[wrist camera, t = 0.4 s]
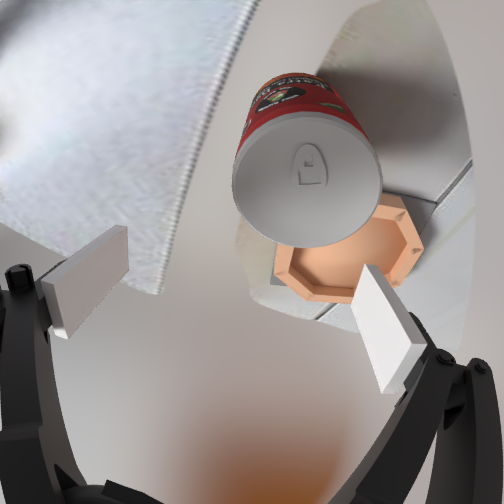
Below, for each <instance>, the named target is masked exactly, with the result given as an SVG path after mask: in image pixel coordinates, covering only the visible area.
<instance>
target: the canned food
mask: <svg viewBox="0 0 504 504" xmlns="http://www.w3.org/2000/svg"><path fill="white" fill-rule="evenodd" d="M382 186H383V176H382V171H381V167H380V163H379V160H378V157H377V155H376V153H375V150H374V148H373V146H372V144H371V143H370V141H369V139H368V137H367V135H366V134H365V132H364V131H363V129H362V128H361V126H360V125H359V123H358V122H357V120H356V119H355V117H354V116H353V114H352V113H351V111H350V110H349V108H348V107H347V105H346V104H345V103H344V101H343V100H342V98H341V97H340V96H339V94H338V93H337V92H336V91H335V90H334V89H333V87H332V86H331V85H329V84H328V83H327V82H325V81H324V80H322V79H320V78H318V77H316V76H314V75H310V74H306V73H288V74H282V75H280V76H277V77H275V78H273V79H271V80H270V81H268V82H267V83H265V84H264V85H263V86H262V87H261V89H260V90H259V91H258V92H257V94H256V95H255V97H254V99H253V102H252V105H251V108H250V111H249V114H248V117H247V120H246V124H245V127H244V130H243V133H242V136H241V140H240V143H239V146H238V150H237V153H236V157H235V162H234V165H233V174H232V191H233V198H234V201H235V203H236V206H237V209H238V211H239V212H240V214H241V215H242V217H243V218H244V220H245V221H246V222H247V223H248V224H249V225H250V226H251V227H252V228H253V229H254V230H255V231H256V232H258V233H259V234H261V235H262V236H263V237H265V238H267V239H269V240H271V241H273V242H276V243H279V244H282V245H285V246H290V247H297V248H316V247H324V246H327V245H331V244H335V243H337V242H340V241H342V240H344V239H346V238H348V237H350V236H351V235H353V234H354V233H356V232H357V231H359V230H360V229H361V228H362V227H363V226H364V225H365V224H366V223H367V222H368V221H369V219H370V218H371V216H372V215H373V214H374V212H375V210H376V208H377V206H378V204H379V202H380V198H381V193H382Z"/></svg>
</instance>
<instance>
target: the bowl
mask: <svg viewBox="0 0 504 504" xmlns="http://www.w3.org/2000/svg"><path fill="white" fill-rule="evenodd" d="M423 250H424V247H423V245H422V242H421V240H420V237H419V235H418V233H417V231H416V228H415V226H414V224H413V222H412V220H411V217H410V215H409V213H408V211H407V209H406V207H405V205H404V203H403V201H402V199H401V197H398V196H393V195H388V194H383V193H381V198H380V202H379V204H378V206H377V208H376V210H375V212H374V214H373V215H372V216H371V218H370V219H369V221H368V222H367V223H366V224H365V225H364V226H363V227H362V228H361V229H360V230H359V231H357V232H356V233H354V234H353V235H351V236H350V237H348V238H346V239H344V240H342V241H340V242H337V243H335V244H331V245H327V246H324V247H316V248H297V247H290V246H285V245H282V244H279V243H278V244H277V250H276V255H275V261H274V275H275V276H276V277H278V278H279V279H280V280H281V281H283V282H284V283H285V284H286V285H287V286H289V287H290V288H291V289H292V290H294V291H295V292H296V293H297V294H299V295H300V296H301V297H302V298H303V299H305V300H306V301H318V302H331V303H346V304H351V303H352V300H353V297H354V294H355V292H356V289H357V286H358V283H359V280H360V277H361V274H362V271H363V267H364V264H370V265H377V266H378V268H379V269H380V271H381V272H382V273H383V275H384V276H385V278H386V279H387V281H388V282H389V284H390V285H391V287H392V288H395V287H398V286H400V285H401V283H402V282H403V281H404V279H405V278H406V276H407V275H408V273H409V272H410V270H411V269H412V267H413V266H414V264H415V263H416V261H417V260H418V258H419V257H420V255H421V254H422V252H423Z"/></svg>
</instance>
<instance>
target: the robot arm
mask: <svg viewBox="0 0 504 504" xmlns="http://www.w3.org/2000/svg"><path fill="white" fill-rule="evenodd" d="M128 271H129V261H128V237H127V227H126V226H120V225H115V226H114V227H112V228H111V229H109V230H108V231H106V232H105V233H103V234H102V235H100V236H99V237H97V238H96V239H95V240H93V241H92V242H90V243H89V244H88V245H86V246H85V247H83V248H82V249H81V250H79V251H78V252H76V253H75V254H74V255H72V256H71V257H70V258H68V259H66V260H63V261H61V262H59V263H58V264H57V265H55V266H54V268H52V269H50V270H49V272H46V273H45V274H44V275H43V276H41V277H40V278H39V279H37V281H35V282H34V279H33V274H32V269H31V266H29V265H28V264H18V265H15V266H13V267H10V268H9V269H8V270H7V271H6V272H5V277H6V280H7V284H8V288H9V291H7V290H2V289H1V286H0V400H1V418H2V431H0V481H1V486H2V490H3V494H4V498H5V502H6V504H164V503H162V502H160V501H158V500H156V499H154V498H152V497H150V496H148V495H146V494H145V493H143V492H140V491H137V490H134V489H131V488H128V487H125V486H122V485H120V484H117V483H115V482H112V481H109V480H106V483H105V486H104V485H87V483H86V481H85V479H84V477H83V476H82V474H81V472H80V471H79V469H78V467H77V465H76V461H75V459H74V456H73V452H72V449H71V446H70V442H69V439H68V436H67V432H66V428H65V424H64V420H63V416H62V412H61V408H60V403H59V398H58V393H57V388H56V382H55V375H54V369H53V362H52V354H51V344H50V335H49V332H48V328H49V327H50V326H51V325H53V328H54V331H55V334H56V335H57V336H60V337H63V338H65V339H67V340H69V339H70V337H71V336H72V335H73V334H74V332H75V331H76V330H77V329H78V328H79V326H80V325H81V324H82V323H83V322H84V320H85V319H86V318H87V317H88V316H89V315H90V313H91V312H92V311H93V310H94V309H95V307H97V305H98V304H99V303H100V302H101V301H102V300H103V299H104V297H105V296H106V295H107V294H108V293H109V292H110V290H112V289H113V287H114V286H115V285H116V284H117V283H118V282H119V281H120V280H121V279H122V278H123V277H124V275H125V274H126V273H127V272H128ZM351 309H352V311H353V314H354V317H355V319H356V322H357V324H358V327H359V330H360V332H361V335H362V338H363V341H364V343H365V346H366V349H367V351H368V354H369V357H370V360H371V363H372V366H373V369H374V372H375V375H376V378H377V381H378V384H379V387H380V390H381V393H382V394H385V393H397V392H398V391H399V389H400V388H401V386H402V385H403V383H404V385H405V388H406V391H405V392H404V394H403V395H402V397H401V398H400V399H399V401H398V402H397V404H396V405H395V410H394V411H393V413H392V415H391V417H390V419H389V420H388V422H387V423H386V425H385V427H384V428H383V430H382V432H381V433H380V435H379V437H378V438H377V439H376V441H375V442H374V444H373V445H372V447H371V449H370V450H369V451H368V453H367V454H366V456H365V457H364V459H363V460H362V461H361V463H360V464H359V466H358V467H357V468H356V470H355V471H354V472H353V473H352V475H351V476H350V478H349V479H348V480H347V481H346V483H345V484H344V485H343V486H342V487H341V489H340V490H339V491H338V492H337V493H336V495H335V496H334V497H333V498H332V499H331V500H330V502H329V503H328V504H403V502H404V500H405V498H406V497H407V495H408V493H409V491H410V490H411V488H412V486H413V484H414V482H415V480H416V478H417V476H418V474H419V472H420V470H421V467H422V465H423V463H424V461H425V459H426V456H427V454H428V452H429V449H430V447H431V444H432V442H433V440H434V437H435V434H436V432H437V439H436V448H435V455H434V462H433V469H432V474H431V480H430V485H429V490H428V494H427V499H426V503H425V504H502V503H501V502H502V490H503V489H502V488H503V449H502V434H501V424H500V415H499V408H498V401H497V395H496V390H495V384H494V379H493V374H492V370H491V368H490V367H489V365H488V364H487V362H485V361H484V360H481V359H479V358H473V359H471V361H470V362H469V363H468V365H467V366H463V365H459V364H456V361H455V358H454V357H453V356H452V355H451V354H450V353H449V352H447V351H445V350H443V349H437V348H436V346H435V344H434V343H433V341H432V339H431V338H430V336H429V334H428V333H427V332H426V330H425V328H424V327H423V325H422V323H421V322H420V320H419V319H418V318H417V317H416V316H415V315H414V314H413V313H411V312H408V311H407V310H406V308H405V306H404V305H403V303H402V302H401V300H400V299H399V297H398V296H397V294H396V293H395V291H394V290H393V288H392V287H391V285H390V284H389V282H388V281H387V279H386V278H385V276H384V275H383V273H382V272H381V271H380V269H379V268H378V266H377V265H370V264H364V267H363V271H362V274H361V277H360V280H359V283H358V286H357V289H356V292H355V294H354V297H353V300H352V303H351Z"/></svg>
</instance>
